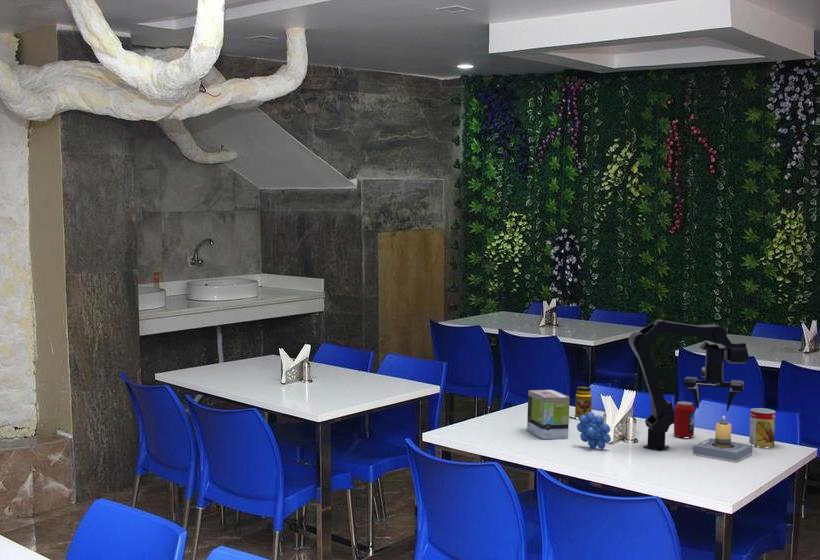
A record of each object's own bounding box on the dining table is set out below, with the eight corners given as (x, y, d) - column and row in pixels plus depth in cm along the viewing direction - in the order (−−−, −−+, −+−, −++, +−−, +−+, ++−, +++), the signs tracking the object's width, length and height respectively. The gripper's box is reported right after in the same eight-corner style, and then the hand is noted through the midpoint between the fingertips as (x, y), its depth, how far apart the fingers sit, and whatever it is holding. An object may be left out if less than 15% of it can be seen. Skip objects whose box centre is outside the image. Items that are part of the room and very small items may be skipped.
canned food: (778, 448, 316) (780, 412, 316) (756, 448, 315) (758, 413, 314) (766, 442, 324) (767, 407, 323) (744, 443, 323) (746, 408, 322)
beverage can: (696, 439, 327) (697, 404, 327) (676, 438, 328) (677, 404, 327) (690, 434, 334) (691, 401, 333) (671, 434, 334) (672, 400, 334)
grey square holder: (736, 462, 296) (736, 452, 296) (693, 454, 305) (693, 445, 305) (752, 454, 307) (752, 444, 307) (710, 447, 316) (710, 437, 316)
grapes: (571, 448, 311) (572, 412, 310) (578, 444, 317) (579, 409, 316) (606, 453, 305) (607, 416, 305) (612, 449, 311) (613, 413, 310)
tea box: (569, 438, 325) (570, 396, 324) (542, 440, 323) (543, 397, 322) (552, 429, 340) (553, 388, 339) (526, 430, 337) (527, 389, 336)
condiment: (583, 421, 354) (583, 389, 354) (566, 417, 361) (567, 386, 360) (596, 419, 359) (597, 387, 358) (580, 415, 365) (581, 384, 365)
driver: (727, 455, 303) (728, 418, 302) (712, 453, 306) (713, 416, 305) (732, 452, 307) (734, 416, 306) (718, 450, 310) (719, 413, 309)
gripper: (744, 361, 317) (743, 407, 318) (687, 357, 323) (685, 403, 324) (744, 366, 306) (742, 413, 307) (684, 362, 313) (682, 409, 314)
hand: (712, 409), depth 313 cm, fingers open, 9 cm apart
